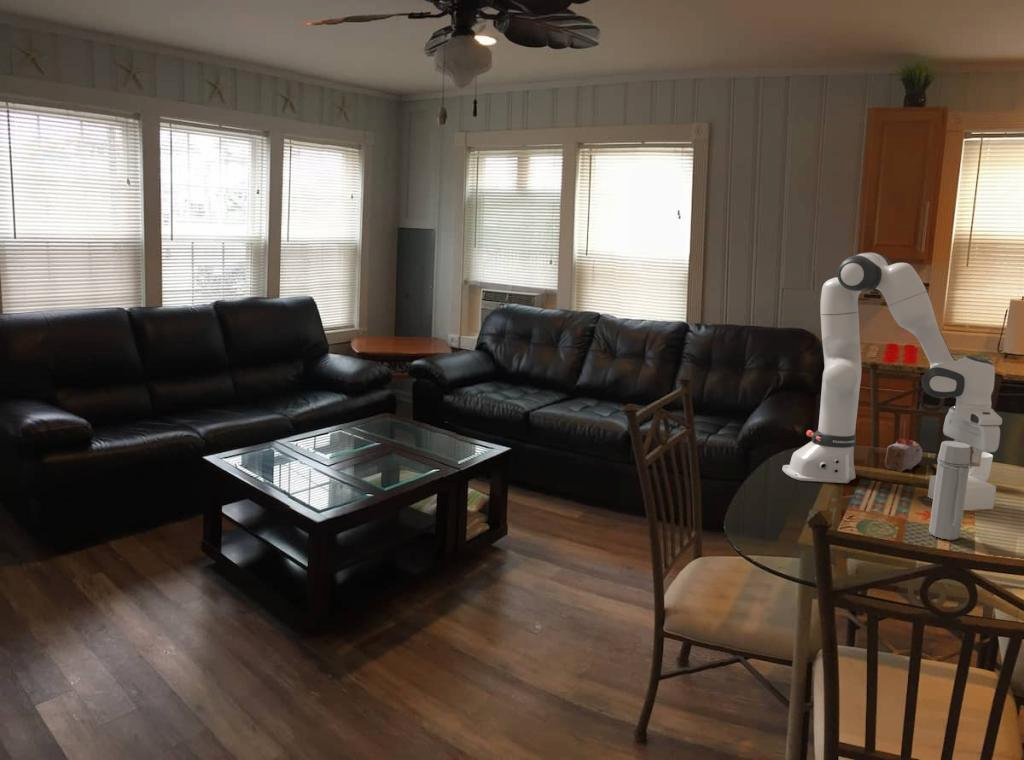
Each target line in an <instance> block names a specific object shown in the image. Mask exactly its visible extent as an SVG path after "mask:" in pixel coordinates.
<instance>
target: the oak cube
mask: <svg viewBox="0 0 1024 760" xmlns="http://www.w3.org/2000/svg"><path fill="white" fill-rule="evenodd" d="M973 452H974V451H973V447H972V446H970V455H972V454H973ZM980 462H981V455H980V456H979V461H978V462H977V463H973V462H971V461H970V463H971V465H972V466H980ZM968 467H970V465H969V466H968Z"/></svg>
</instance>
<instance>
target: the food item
mask: <svg viewBox="0 0 1024 760" xmlns="http://www.w3.org/2000/svg"><path fill="white" fill-rule="evenodd" d="M923 450H924V449H923V448H922V447H921V445H920V444H919V442H916V441H914V440H911V439H907V438H898V439H896V442H895V443H893V444H890V445H887V448H886V455H885V461H884V468H885V469H888V470H891V469H892V470H891V471H895V470H896V472H899V473H902V472H903V471H905V470H912V469H913V468H914V467H915V466H917V465H918V464H919V463H920V462H921V461H922V457H923Z"/></svg>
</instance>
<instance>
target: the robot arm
mask: <svg viewBox="0 0 1024 760" xmlns="http://www.w3.org/2000/svg"><path fill="white" fill-rule="evenodd" d="M836 276H837V277H836ZM836 276H835V277H832V278H830V279H828V280H826V281H825V282H824V283H823V285H822V287H821V293H820V302H819V303H820V305H819V306H820V309H819V310H820V328H821V341H822V352H823V363H824V369H823V372H822V378H821V379H822V380H821V381H822V382H821V393H820V394H821V395H820V407H819V417H818V418H819V419H818V428H817V430H816V431H815V432H814V431H813V430H811V429H809V430H807V431H806V433H805V434H806V436H807V437H809V438H811V441H809V442H808V443H806V444H805V445H803V446H801V447H800V448H799V449H797V450H796V451H793V453H792V455H791V459H790V462H789V464H783V465H782V472H783V473H785V474H786V475H787V476H788V477H791V478H792V479H794V480H796V481H797V480H798V481H803V482H819V483H834V484H835V483H838V484H848V483H850V481H852V480H855V479H856V470H855V463H854V462H855V461H854V454H855V453H854V450H855V448H856V438H857V434H856V428H857V427H856V426H857V417H858V408H859V400H860V399H859V398H860V389H861V388H860V387H861V381H862V371H863V370H862V354H861V341H860V340H861V336H860V318H859V296H860V294H861V293H862V292H863V291H864V292H865V291H873V290H878V291H879V292H880V293H881V294H882V296H883V298H884V300H885V302H886V305H887V307H888V310H889V312H890V314H891V316H892V318H893V319H894V320H895V322H896V323H897V325H898V326H899V327H900V328H903V329H904V330H906V331H908V332H909V333H910V334H912V335H913V336H914V337H916V339H917V340H918V342H919V343H920V346H921V348H922V350H923V352H924V354H925V356H926V358H927V360H928V363H929V369H928V370H926V371H925V372H924V373H923V374H922V377H921V387H922V389H923V391H924V392H925V393H926V394H927V395H928V396H930V397H932V398H936V399H937V398H938V399H945V398H947V399H948V398H955V399H956V400H955V405H953V406H951V407H950V408H949V409H948V413H947V414H946V415H945V419H944V423H943V426H942V427H943V428H942V432H943V435H944V436H946V437H948V438H951V439H952V440H953V441H956V442H962V443H965V444H968V445H970V446H972V447H973V451H974V452H973V454H972V455H970V461H971V462H973V463H977V462H978V461H979V456H980V455H981V454H982V452H987V453H995V452H997V451H998V449H999V445H1000V438H1001V429H1000V426H1001V425H1002V424H1003V418H1002V417H1001V416H1000V415H999V414H998V413H997V412H996V411H995V410H994V409H993V408H992V395H993V391H994V388H995V375H996V374H995V372H996V371H995V366H994V363H993V362H992V361H991V360H989V359H987V358H985V357H981V356H977V355H965V356H963V357H962V358H959V359H956V358H955V357H954V356H953V354H952V353H951V350H950V349H949V347H948V345H947V343H946V341H945V338H944V337H943V334H942V332H941V330H940V328H939V325H938V321H937V318H936V315H935V312H934V307H933V305H932V301H931V299H930V297H929V293H928V292H927V288H926V286H925V285H924V282H923V281H922V278H920V276H919V274H918V272H917V271H916V270H915V268H914V266H912V265H911V264H910V263H907V262H896V263H893V264H891V263H890V260H889V259H888V258H887V257H886V256H885V255H884V254H882V253H879V252H876V251H875V252H872V251H871V252H861V253H858V254H856V255H851V256H849V257H847V258H846V259H845V260H843V261H842V262H841V263H840V265H839V267H838V269H837V275H836Z"/></svg>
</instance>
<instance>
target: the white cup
mask: <svg viewBox="0 0 1024 760" xmlns="http://www.w3.org/2000/svg"><path fill="white" fill-rule="evenodd" d="M993 458H994V455H993V454H991V452H982V454H981V462H980V466H972V468H970V469H969V473H968V475H969V476H971V477H974V478H976V479H979V480H982V481H984V482H987V483H988V480H989V478H990V474H991V473H990V472H991V469H992V463H993Z"/></svg>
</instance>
